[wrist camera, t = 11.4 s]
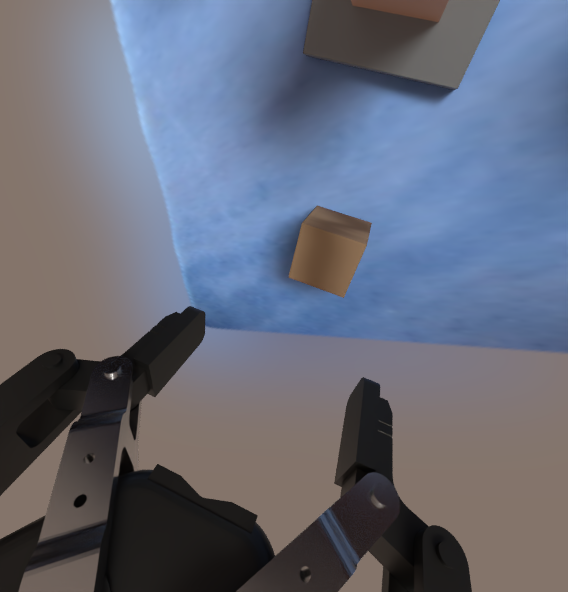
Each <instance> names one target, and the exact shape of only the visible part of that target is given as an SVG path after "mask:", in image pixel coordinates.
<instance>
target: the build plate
mask: <svg viewBox="0 0 568 592" xmlns="http://www.w3.org/2000/svg"><path fill="white" fill-rule="evenodd" d="M499 1H500V0H449V1H448V3H447V5H446V8H445V10H444V12H443V14H442V16H441V18H440V21H439V22H435V21H430V20H424V19H419V18H414V17H409V16H404V15H399V14H393V13H388V12H383V11H378V10H373V9H368V8H362V7H357V6H353V5H352V2H351V0H312V5H311V11H310V17H309V22H308V28H307V33H306V39H305V44H304V50H303V54H305V55H306V56H309V57H313V58H318V59H322V60H326V61H331V62H335V63H339V64H344V65H348V66H352V67H357V68H361V69H365V70H370V71H374V72H378V73H383V74H387V75H391V76H396V77H400V78H405V79H409V80H413V81H418V82H422V83H426V84H431V85H435V86H439V87H444V88H448V89H452V90H456V89H458V87H459V85H460V82H461V80H462V78H463V76H464V74H465V72H466V70H467V68H468V66H469V64H470V62H471V60H472V57H473V55H474V53H475V51H476V49H477V47H478V45H479V43H480V41H481V39H482V37H483V35H484V32H485V30H486V28H487V26H488V24H489V22H490V20H491V18H492V16H493V14H494V12H495V10H496V7H497V5H498V3H499Z"/></svg>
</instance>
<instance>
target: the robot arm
mask: <svg viewBox="0 0 568 592" xmlns="http://www.w3.org/2000/svg"><path fill="white" fill-rule="evenodd" d="M204 335H205V312H204V311H201V310H199V309H196V308H194V307H191V306H189V307H188V308H186V309H185V310H184V311H183V312H182V313H181V314H180V313H177V312H175V313H173V314H171V315H169V316H166V317H165V318H164V319H162V320H161V321H160V322H159V323H158V324H157V326H155V327H153V328H152V329H151V331H150V332H148V333H147V334H145V335H144V336H143V337H142V338H141V339H140V340H139V341H138V342H136V343H135V344H134V345H133V346H132V347H131V348H130V349H128V350H127V351H126V352H125V353H124V354H122V355H121V356H114V357H109V358H106V359H104V360H102V361H90V360H80V359H76V357H75V355H74V354H73V352H71V351H69V350H66V349H56V350H52V351H49V352H46V353H44V354H42V355H40V356H39V357H37V358H36V359H34V360H33V361H32V362H30V363H29V364H28V365H26V366H25V367H24V368H22V369H21V370H19V371H18V372H17V373H15V374H14V375H13V376H11V377H10V378H9V379H7V380H6V381H5V382H3V383H2V384H1V385H0V495H1V494H2V493H3V492H4V491H5V490H6V489H7V488H8V487H9V486H10V485H11V484H12V483H13V482H14V481H15V480H16V479H17V478H18V477H19V476H20V475H21V474H22V473H23V472H24V471H25V470H26V469H27V468H28V467H29V465H30V464H31V463H32V462H33V461H34V460H35V459H36V458H37V457H38V456H39V455H40V454H41V453H42V452H43V451H44V450H45V449H46V448H47V447H48V446H49V445H50V444H51V443H52V442H53V441H54V440H55V439H56V437H58V435H59V434H60V433H61V432H62V431H63V430H64V429H65V428H66V427H67V426H68V425H69V424H70V423H71V422H72V421H73V420H74V419H75V418H76V417H77V416H78V415H79V414H80V413H81V416H80V419H79V420H78V421H76V422H74V423H73V424H72V426H71V428H70V430H69V433H68V437H67V440H66V444H65V448H64V451H63V455H62V458H61V462H60V466H59V469H58V473H57V476H56V480H55V484H54V487H53V491H52V494H51V498H50V502H49V505H48V509H47V513H46V515H45V516H43V517H42V518H40V519H38V520H36V521H34V522H32V523H30V524H28V525H26V526H24V527H22V528H21V529H19V530H17V531H15V532H13V533H11V534H9V535H7V536H6V537H4V538H2V539H0V592H338V591H339V590H340V589H341V588H342V587H343V585H344V584H345V583H346V582H347V581H348V580H349V578H350V577H351V576H352V575H353V573H354V572H355V570H356V567H357V563H358V562H359V561H360V559H361V558H362V557H363V556H364V555H365V554H366V553H367V552H368V551H369V552H370V553H371V554H372V555H373V556H374V557H375V558H376V559H377V560H378V561H379V562H380V563H381V564H382V565H383V579H382V592H472V590H471V582H470V574H469V567H468V562H467V559H466V556H465V553H464V551H463V549H462V547H461V546H460V544H459V543H458V541H457V540H456V539H455V537H454V536H453V535H452V534H451V533H450V532H448V531H447V530H446V529H444V528H442V527H440V526H436V525H433V526H428V525H426V524H425V523H424V522H423V521H422V520H421V519H420V518H419V517H417V516H416V515H415V514H414V513H413V512H412V511H411V510H409V509H408V507H406V505H405V504H404V503H403V502H402V500H401V499H400V497H399V496H398V493H397V491H396V489H395V487H394V484H393V476H392V411H391V408H390V406H389V403H388V401H387V400H385V399H383V398H380V385H379V384H378V383H376V382H373V381H371V380H369V379H366V378H364V377H363V378H361V380H360V382H359V383H358V384H357V386H356V387H355V389H354V390H353V392H352V394H351V395H350V397H349V400H348V403H347V406H346V412H345V418H344V425H343V431H342V438H341V444H340V451H339V457H338V464H337V469H336V476H335V482H334V483H335V484H337V485H339V486H341V487H342V490H341V497H340V499H339V500H337V501H336V502H335V503H334V504H333V505H332V506H331V507H329V508H328V509H327V510H326V511H325V512H324V513H323V514H322V515H321V516H320V517H318V518H317V519H316V520H315V521H314V522H313V523H312V524H311V525H309V526H308V527H307V528H306V529H305V530H304V531H303V532H302V533H300V534H299V535H298V536H297V537H296V538H295V539H294V540H293V541H291V543H289V544H288V545H287V546H286V547H285V548H284V549H283V550H281V551H280V552H279V553H278V554H277V555H276V556H275V555H274V551H273V548H272V546H271V544H270V542H269V540H268V538H267V536H266V534H265V533H264V531H263V530H262V529H261V527H260V526H259V525H258V524H257V523H256V519H257V515H256V514H254V513H252V512H250V511H248V510H245V509H244V508H242V507H240V506H238V505H236V504H234V503H232V502H226V501H220V500H214V499H206V498H202V497H201V496H199V494H198V493H196V491H195V490H194V489H193V488H192V487H191V486H190V485H189V484H188V483H187V482H186V481H185V480H184V479H183V478H182V476H180V475H178V474H176V473H174V472H172V471H170V470H168V469H167V468H165V467H163V466H160V465H159V464H157V465H156V467H155V468H154V470H140V471H138V463H139V462H138V461H139V454H138V437H139V425H140V415H141V404H142V403H141V402H142V399H143V398H144V397H145V396H146V394H149V395H152V396H154V397H156V395H157V394H158V393H159V392H160V391H161V390H162V388H163V387H164V386H165V385H166V384H167V382H168V381H169V380H170V379H171V378H172V376H173V375H174V374H175V373H176V372H177V371H178V369H179V368H180V367H181V366H182V365H183V364H184V362H185V361H186V360H187V359H188V357H189V356H190V355H191V354H192V353H193V352H194V350H195V349H196V348H197V347H198V346H199V345H200V343H201V342H202V340H203V338H204Z"/></svg>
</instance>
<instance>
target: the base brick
mask: <svg viewBox="0 0 568 592" xmlns="http://www.w3.org/2000/svg"><path fill="white" fill-rule="evenodd" d="M448 1H449V0H351V2H352V5H353V6H357V7H362V8H368V9H373V10H378V11H383V12H388V13H393V14H399V15H404V16H409V17H414V18H419V19H424V20H430V21H435V22H439V21H440V18H441V16H442V14H443V12H444V10H445V8H446V5H447V3H448Z"/></svg>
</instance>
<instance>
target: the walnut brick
mask: <svg viewBox="0 0 568 592" xmlns="http://www.w3.org/2000/svg"><path fill="white" fill-rule="evenodd" d="M371 224H372V223H370V222H367V221H364V220H361V219H358V218H354V217H351V216H348V215H345V214H342V213H339V212H336V211H332V210H329V209H326V208H323V207H320V206H317V207H316V208H315V209H314V210H313V211H312V212H311V213H310V215H309V216H308V217H307V218H306V219H305V220H304V221H303V223H302V225H301V229H300V233H299V237H298V241H297V245H296V249H295V253H294V257H293V261H292V265H291V269H290V273H289V278H292V279H294V280H297V281H300V282H303V283H305V284H308V285H311V286H313V287H316V288H319V289H322V290H324V291H327V292H330V293H332V294H335V295H338V296H340V297H343V298H344V296H345V294H346V291H347V289H348V287H349V284H350V282H351V280H352V278H353V275H354V273H355V271H356V268H357V266H358V264H359V262H360V259H361V257H362V255H363V252H364V250H365V248H366V246H367V242H368V237H369V233H370V228H371Z"/></svg>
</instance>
